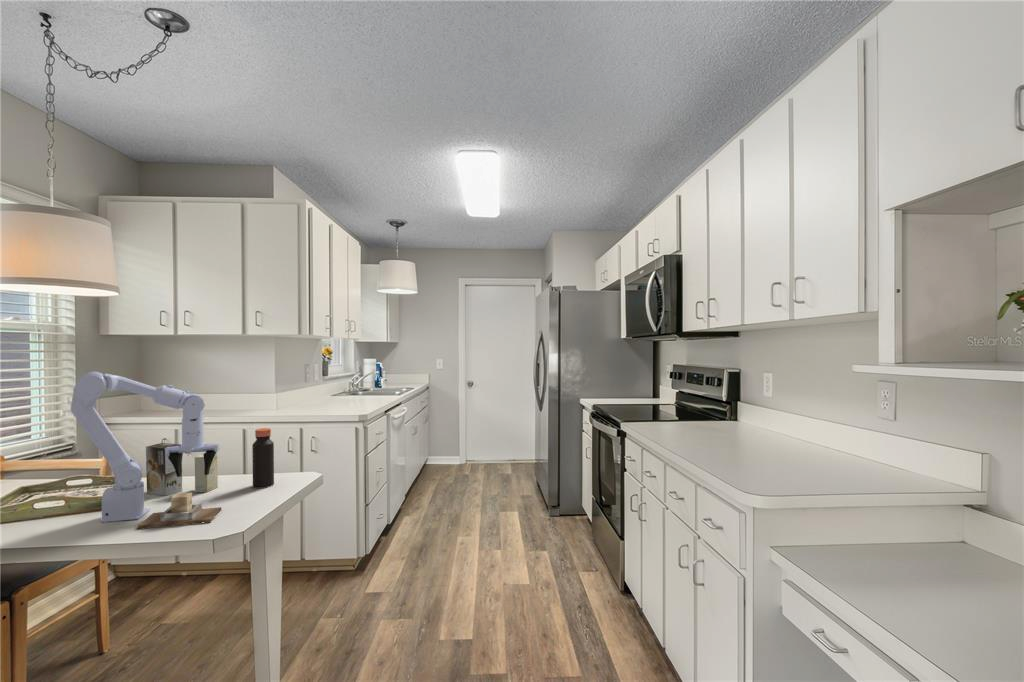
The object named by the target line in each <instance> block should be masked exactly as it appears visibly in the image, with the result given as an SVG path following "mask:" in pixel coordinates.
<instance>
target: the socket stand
mask: <svg viewBox="0 0 1024 682" xmlns="http://www.w3.org/2000/svg"><path fill="white" fill-rule="evenodd" d="M220 511H222V507H219V506H218V507H207V508H206V507H205V508H203V504H202V502H201V503H192V510H191V511H190V512H180V513H171V505H170V506H169V507H168V508H167V509H165V511H162V512H161V511H160V512H159V511H158V512H153V513H151V514H150V515H149V516H148V517H146V519H143V520H142V521H141V522H140V523H139V524H138V526H137V529H138V530H141V528H144V529H153V528H152V527H156V528H163V527H162V526H167V527H173V526H172V525H178V526H185V525H184V524H189V525H193V524H192V523H200V524H203V523H202V522H211V521H212V520H213V519H214V520H215V518H216V517H217V516H218V515H219V514H220V513H221V512H220ZM219 512H220V513H219ZM218 513H219V514H218ZM217 514H218V515H217ZM216 515H217V516H216ZM215 516H216V517H215ZM214 517H215V518H214ZM214 520H213V521H214ZM213 521H212V522H213ZM212 522H211V523H212Z"/></svg>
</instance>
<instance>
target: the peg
mask: <svg viewBox="0 0 1024 682" xmlns="http://www.w3.org/2000/svg"><path fill="white" fill-rule="evenodd" d="M192 504H193V492H185V493H184V492H183V493H174V495H173V496H172V497H171V498H170V506H171V513H180V512H190V511H191V510H192Z"/></svg>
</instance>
